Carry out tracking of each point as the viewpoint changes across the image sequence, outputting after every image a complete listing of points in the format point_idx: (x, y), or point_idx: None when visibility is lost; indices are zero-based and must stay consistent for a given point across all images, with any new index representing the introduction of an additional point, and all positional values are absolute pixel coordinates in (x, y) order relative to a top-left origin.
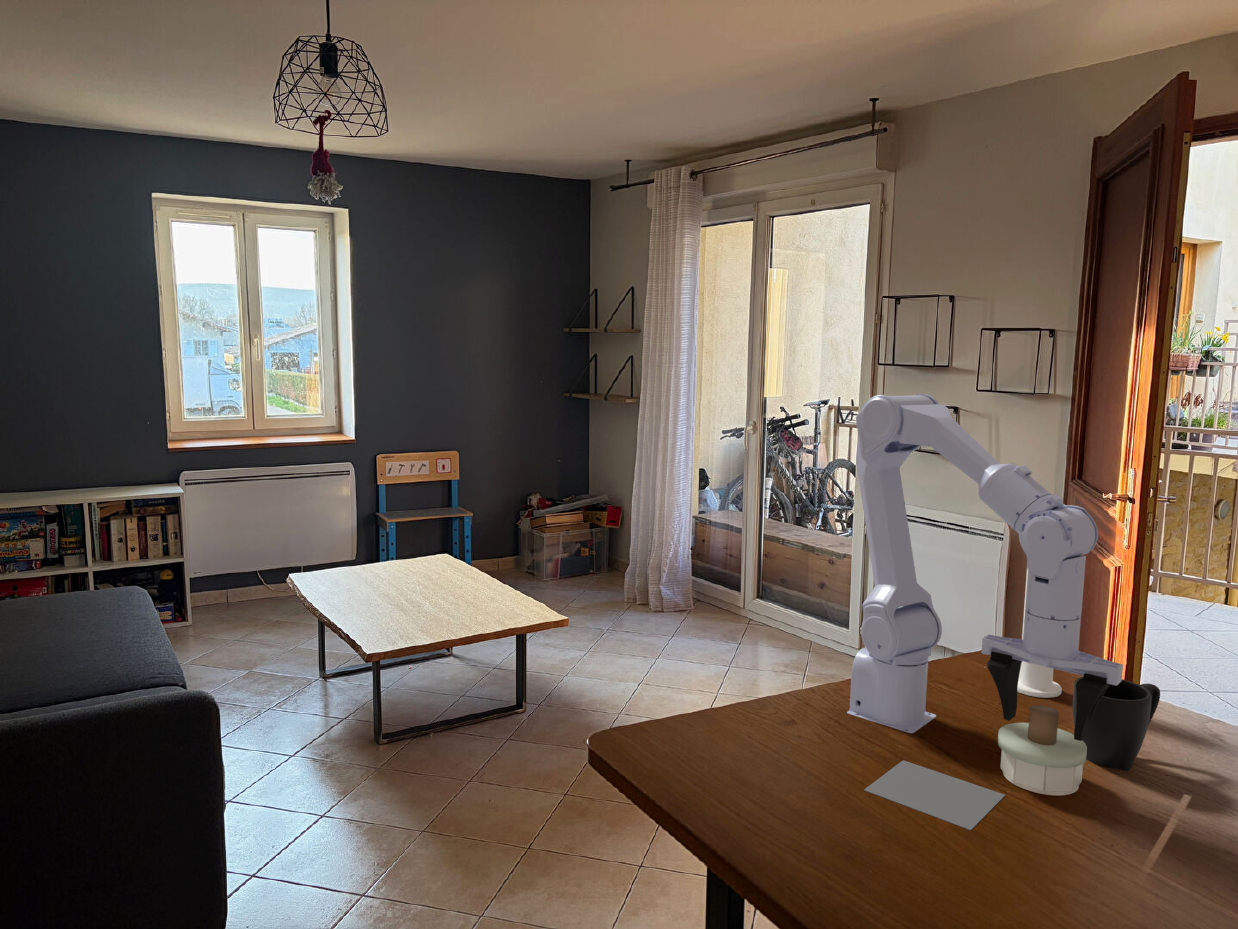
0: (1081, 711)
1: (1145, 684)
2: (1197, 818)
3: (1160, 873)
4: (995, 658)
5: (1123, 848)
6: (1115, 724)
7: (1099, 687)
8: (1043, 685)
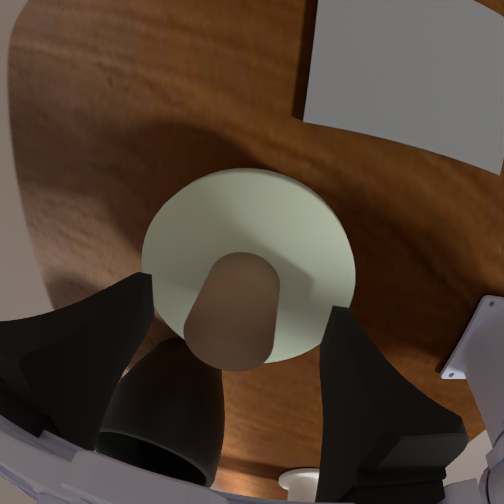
0: (85, 311)
1: None
2: (56, 254)
3: (55, 57)
4: (426, 480)
5: (95, 85)
6: (132, 390)
7: None
8: (297, 482)
